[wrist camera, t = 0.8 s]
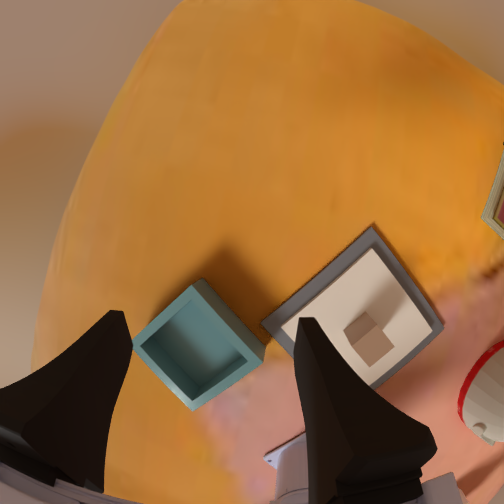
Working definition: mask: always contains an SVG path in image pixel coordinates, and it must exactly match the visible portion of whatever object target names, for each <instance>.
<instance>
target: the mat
mask: <svg viewBox="0 0 504 504" xmlns="http://www.w3.org/2000/svg"><path fill="white" fill-rule="evenodd" d="M369 248H372V249H373V250H374V251H375V253H376V254H377V255H378V256H379V258H380V259H381V260H382V261H383V263H384V264H385V265H386V267H387V268H388V269H389V271H390V272H391V273H392V275H393V276H394V277H395V279H396V280H397V281H398V283H399V284H400V285H401V287H402V288H403V289H404V291H405V292H406V293H407V295H408V296H409V298H410V299H411V300H412V302H413V303H414V305H415V306H416V307H417V309H418V310H419V312H420V313H421V315H422V316H423V317H424V319H425V320H426V322H427V323H428V325H429V326H430V328H431V329H432V332H431V333H430V334H429V335H428V336H427V337H426V338H425V339H424V340H422V341H421V342H420V343H419V344H418V345H417V346H416V347H415V348H414V349H413V350H412V351H410V352H409V353H408V354H407V355H406V356H405V357H404V358H402V359H401V360H400V361H399V362H398V363H397V364H395V365H394V366H393V367H392V368H391V369H389V370H388V371H387V372H386V373H385V374H383V375H382V376H381V377H380V378H378V379H377V380H376V381H375V382H373V383H372V384H371V385H369V386H370V387H371V388H372V389H373V390H375V389H376V388H378V387H379V386H380V385H381V384H383V383H384V382H385V381H386V380H388V379H389V378H390V377H391V376H393V375H394V374H395V373H396V372H397V371H399V370H400V369H401V368H402V367H403V366H404V365H406V364H407V363H408V362H409V361H410V360H411V359H412V358H414V357H415V356H416V355H417V354H418V353H419V352H420V351H421V350H422V349H424V348H425V347H426V346H427V345H428V344H429V343H430V342H431V341H432V340H433V339H434V338H435V337H436V336H437V335H438V334H439V333H440V332H441V331H442V330H443V329H444V327H443V325H442V323H441V322H440V320H439V319H438V317H437V316H436V314H435V313H434V311H433V310H432V308H431V307H430V305H429V304H428V302H427V301H426V299H425V298H424V296H423V295H422V293H421V292H420V291H419V289H418V288H417V286H416V285H415V283H414V282H413V281H412V279H411V278H410V276H409V275H408V274H407V272H406V271H405V270H404V268H403V267H402V266H401V264H400V263H399V262H398V260H397V259H396V258H395V256H394V255H393V254H392V252H391V251H390V250H389V248H388V247H387V246H386V244H385V243H384V242H383V241H382V239H381V238H380V237H379V236H378V234H377V233H376V232H375V230H374V229H373V228H372V227H369V228H368V229H367V230H366V231H365V232H364V233H363V234H362V235H361V236H360V237H359V238H357V239H356V240H355V241H354V242H353V243H352V244H351V245H350V246H349V247H348V248H347V249H345V250H344V251H343V252H342V253H341V254H340V255H339V256H338V257H337V258H335V259H334V260H333V261H332V262H331V263H330V264H329V265H328V266H326V267H325V268H324V269H323V270H322V271H321V272H320V273H318V274H317V275H316V276H315V277H314V278H313V279H312V280H310V281H309V282H308V283H307V284H306V285H305V286H303V287H302V288H301V289H300V290H299V291H298V292H296V293H295V294H294V295H293V296H292V297H290V298H289V299H288V300H287V301H286V302H284V303H283V304H282V305H281V306H280V307H279V308H277V309H276V310H275V311H274V312H272V313H271V314H270V315H269V316H268V317H266V318H265V319H264V320H263V321H261V325H262V326H263V327H264V328H265V329H266V330H267V331H268V332H269V333H270V334H271V335H272V336H273V337H274V339H275V340H276V341H277V342H278V343H279V344H280V345H281V346H282V347H283V348H284V349H285V350H286V351H287V352H288V353H289V354H290V356H291V357H292V358H293V359H294V355H293V351H294V345H295V342H294V341H293V340H292V339H291V338H290V337H289V336H288V335H287V333H286V332H285V331H284V330H283V329H282V328H281V325H282V324H283V323H284V322H285V321H287V320H288V319H289V318H290V317H291V316H293V315H294V314H295V313H296V312H297V311H299V310H300V309H301V308H302V307H303V306H305V305H306V304H307V303H308V302H309V301H311V300H312V299H313V298H314V297H315V296H317V295H318V294H319V293H320V292H321V291H322V290H324V289H325V288H326V287H327V286H328V285H329V284H330V283H332V282H333V281H334V280H335V279H336V278H337V277H338V276H340V275H341V274H342V273H343V272H344V271H345V270H346V269H347V268H349V267H350V266H351V265H352V264H353V263H354V262H355V261H356V260H357V259H358V258H360V257H361V256H362V255H363V254H364V253H365V252H366V251H367V250H368V249H369Z"/></svg>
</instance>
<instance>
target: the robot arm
mask: <svg viewBox="0 0 504 504" xmlns="http://www.w3.org/2000/svg"><path fill="white" fill-rule="evenodd" d="M132 350H133V343H132V339H131V336H130V333H129V330H128V326H127V323H126V319H125V316H124V312H123V311H117V310H110V311H109V312H107V313H106V314H105V315H104V316H103V317H102V318H101V319H100V320H99V321H98V322H96V323H95V324H94V325H93V326H92V327H91V328H90V329H89V330H88V331H87V332H86V333H85V334H83V335H82V336H81V337H80V338H79V339H78V340H77V341H76V342H74V343H73V344H72V345H71V346H70V347H68V348H67V349H66V350H65V351H64V352H63V353H61V354H60V355H59V356H58V357H56V358H55V359H54V360H52V361H51V362H49V363H48V364H46V365H45V366H43V367H42V368H40V369H39V370H37V371H35V372H34V373H32V374H30V375H29V376H27V377H25V378H23V379H21V380H19V381H17V382H15V383H13V384H11V385H9V386H6V387H4V388H1V389H0V504H142V503H137V502H133V501H128V500H124V499H120V498H116V497H112V496H108V495H105V494H102V493H104V468H105V457H106V447H107V441H108V434H109V428H110V423H111V418H112V414H113V410H114V407H115V404H116V401H117V398H118V395H119V392H120V390H121V387H122V384H123V381H124V378H125V376H126V373H127V370H128V367H129V363H130V359H131V355H132ZM293 355H294V368H295V376H296V382H297V387H298V392H299V396H300V401H301V406H302V411H303V416H304V422H305V431H306V432H305V433H303V434H302V435H300V436H298V437H297V438H295V439H293V440H292V441H290V442H288V443H286V444H285V445H283V446H281V447H279V448H277V449H276V450H274V451H272V452H270V453H268V454H266V455H265V456H264V457H263V459H264V460H265V461H266V462H267V463H268V464H270V465H271V466H272V467H274V468H275V469H276V470H277V476H276V489H275V500H273V501H270V504H463V502H462V499H461V496H460V492H459V489H458V486H457V483H456V480H455V476H454V473H453V472H449V473H447V474H444V475H442V476H439V477H436V478H433V479H431V480H428V481H426V482H424V483H422V484H421V482H420V479H419V478H420V477H422V471H421V467H422V466H423V465H424V464H425V463H427V462H428V461H429V460H430V459H431V458H432V457H433V456H434V455H435V453H436V451H437V446H436V443H435V440H434V437H433V435H432V433H431V431H430V429H429V427H427V426H426V425H424V424H422V423H420V422H418V421H416V420H415V419H413V418H411V417H409V416H408V415H406V414H405V413H403V412H402V411H400V410H398V409H397V408H395V407H394V406H393V405H391V404H390V403H389V402H388V401H386V400H385V399H384V398H382V397H381V396H380V395H379V394H377V393H376V392H375V391H374V390H373V389H372V388H371V387H370V386H369V385H368V384H367V383H365V382H364V381H363V380H362V379H361V378H360V376H359V375H358V374H357V373H356V372H355V371H354V370H353V369H352V368H351V367H350V365H349V364H348V363H347V362H346V361H345V359H344V358H343V357H342V356H341V354H340V353H339V352H338V350H337V349H336V348H335V346H334V345H333V344H332V342H331V341H330V340H329V338H328V337H327V335H326V334H325V332H324V331H323V329H322V328H321V326H320V325H319V323H318V321H317V320H316V319H315V318H314V317H299V320H298V327H297V333H296V339H295V345H294V351H293Z"/></svg>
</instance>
